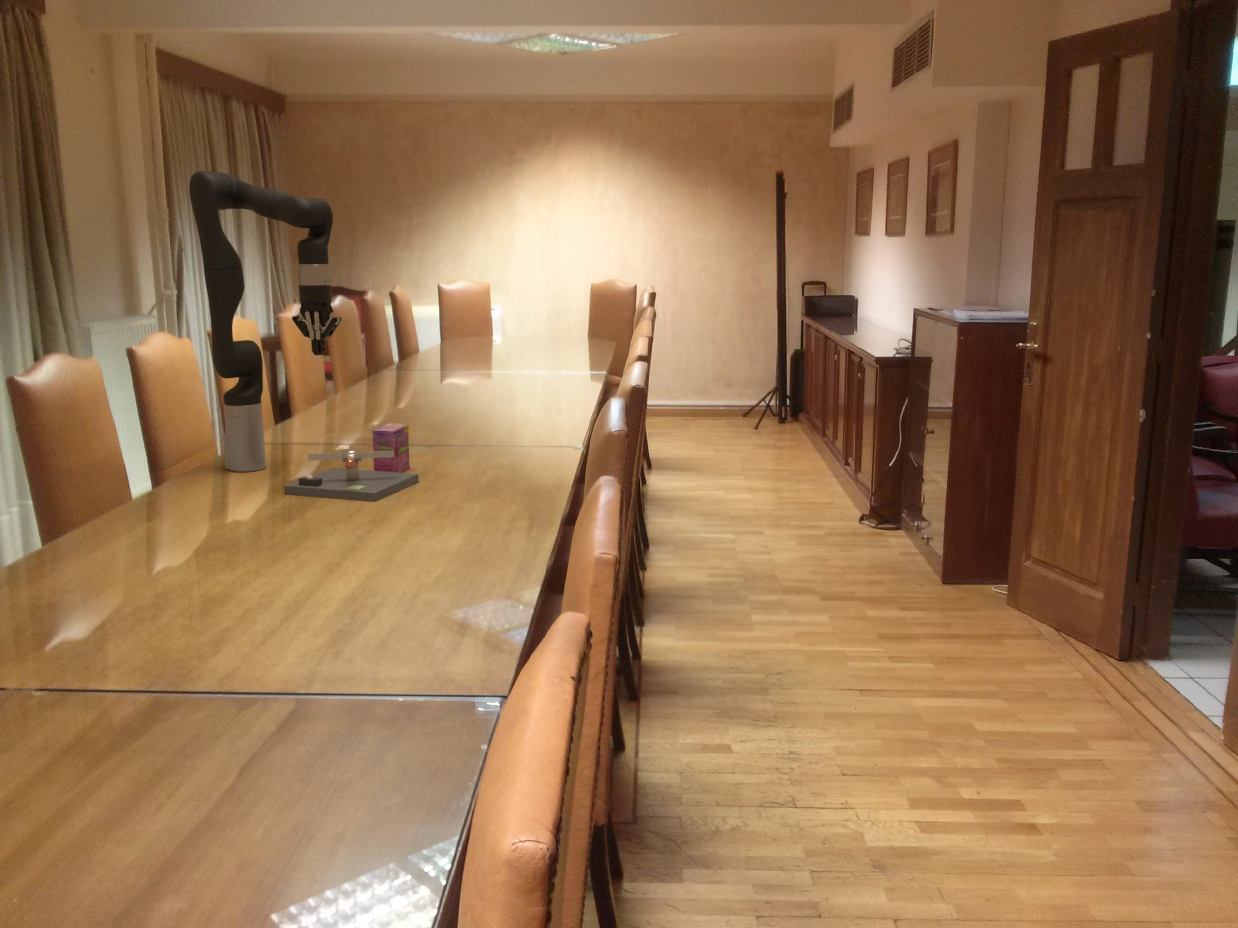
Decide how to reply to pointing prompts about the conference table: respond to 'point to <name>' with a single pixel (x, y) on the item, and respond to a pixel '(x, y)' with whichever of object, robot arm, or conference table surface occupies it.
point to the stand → (351, 484)
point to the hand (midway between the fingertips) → (318, 354)
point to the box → (392, 447)
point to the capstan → (350, 456)
